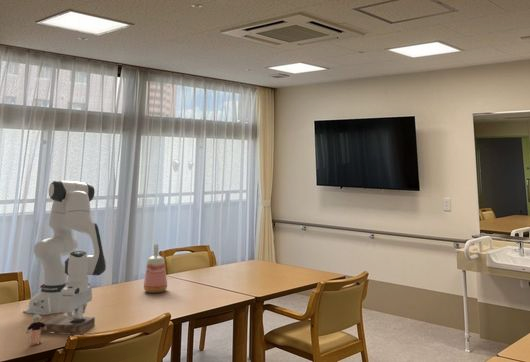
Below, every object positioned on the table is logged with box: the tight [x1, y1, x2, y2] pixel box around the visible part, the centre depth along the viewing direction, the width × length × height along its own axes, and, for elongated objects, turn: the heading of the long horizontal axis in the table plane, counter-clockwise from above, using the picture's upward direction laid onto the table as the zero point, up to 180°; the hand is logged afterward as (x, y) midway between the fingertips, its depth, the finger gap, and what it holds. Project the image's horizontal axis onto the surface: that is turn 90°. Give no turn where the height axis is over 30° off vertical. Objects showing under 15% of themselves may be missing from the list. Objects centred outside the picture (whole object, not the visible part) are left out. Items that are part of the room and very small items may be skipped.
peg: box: [72, 305, 84, 323], centre depth 195 cm, size 4×4×10 cm
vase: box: [143, 243, 168, 294], centre depth 264 cm, size 14×14×30 cm
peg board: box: [40, 314, 96, 335], centre depth 195 cm, size 20×12×4 cm, turn 84°
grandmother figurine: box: [25, 314, 47, 346], centre depth 177 cm, size 8×4×13 cm, turn 138°
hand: (77, 316), depth 194 cm, fingers open, 8 cm apart
